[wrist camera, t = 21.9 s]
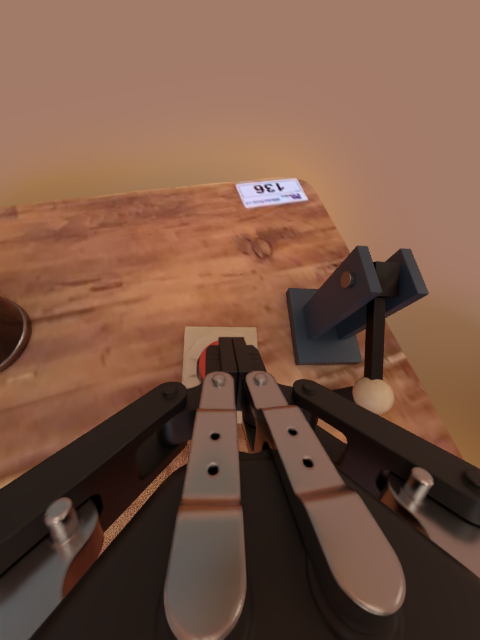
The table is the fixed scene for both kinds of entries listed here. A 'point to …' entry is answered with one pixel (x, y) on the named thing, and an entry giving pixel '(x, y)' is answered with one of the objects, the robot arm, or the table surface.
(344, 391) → the rest post
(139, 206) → the table surface
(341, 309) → the switch bracket
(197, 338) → the control box
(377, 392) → the switch lever
